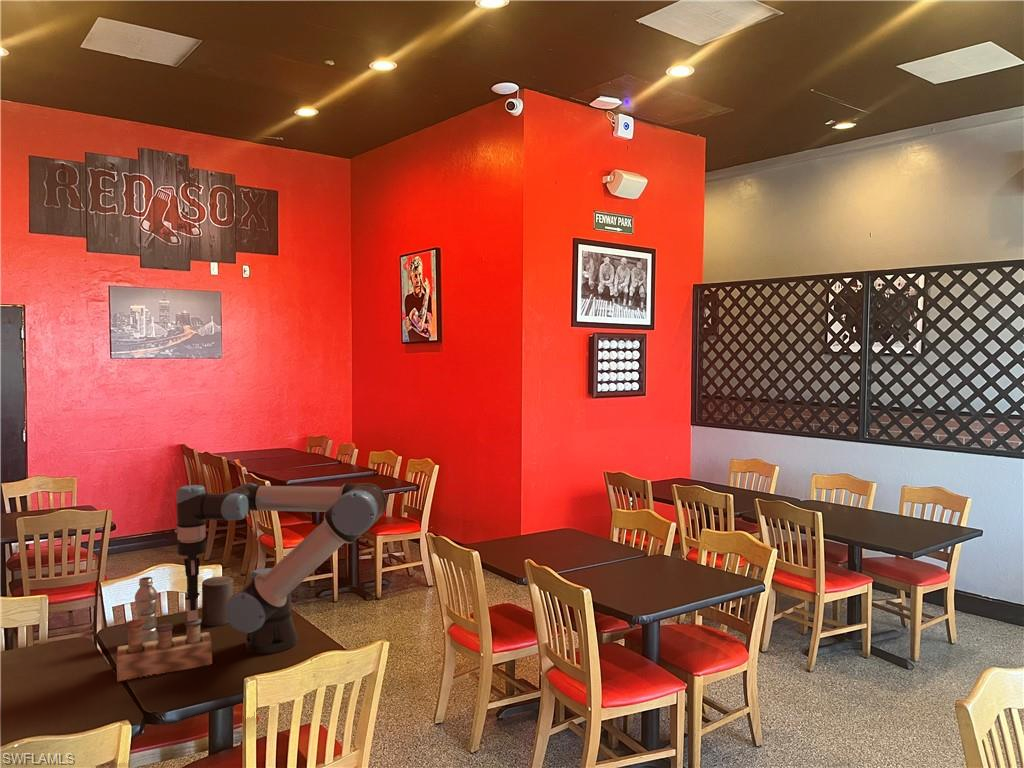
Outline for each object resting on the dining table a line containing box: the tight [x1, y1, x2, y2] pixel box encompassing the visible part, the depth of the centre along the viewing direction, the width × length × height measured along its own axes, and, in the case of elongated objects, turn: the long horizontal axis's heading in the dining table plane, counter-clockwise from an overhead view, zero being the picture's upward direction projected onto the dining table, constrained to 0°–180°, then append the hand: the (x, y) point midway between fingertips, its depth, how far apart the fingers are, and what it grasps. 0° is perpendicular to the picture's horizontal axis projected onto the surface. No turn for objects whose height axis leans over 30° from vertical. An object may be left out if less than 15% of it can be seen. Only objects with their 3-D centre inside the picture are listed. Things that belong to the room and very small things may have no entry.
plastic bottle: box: [134, 576, 158, 642], centre depth 224 cm, size 6×7×20 cm
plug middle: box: [156, 622, 174, 649], centre depth 207 cm, size 4×4×11 cm
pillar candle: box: [201, 575, 234, 627], centre depth 242 cm, size 10×10×15 cm
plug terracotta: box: [125, 618, 144, 654], centre depth 204 cm, size 4×4×11 cm
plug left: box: [184, 617, 202, 644], centre depth 211 cm, size 4×4×11 cm
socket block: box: [116, 631, 213, 682], centre depth 207 cm, size 24×10×6 cm, turn 117°
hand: (192, 619), depth 210 cm, fingers closed
